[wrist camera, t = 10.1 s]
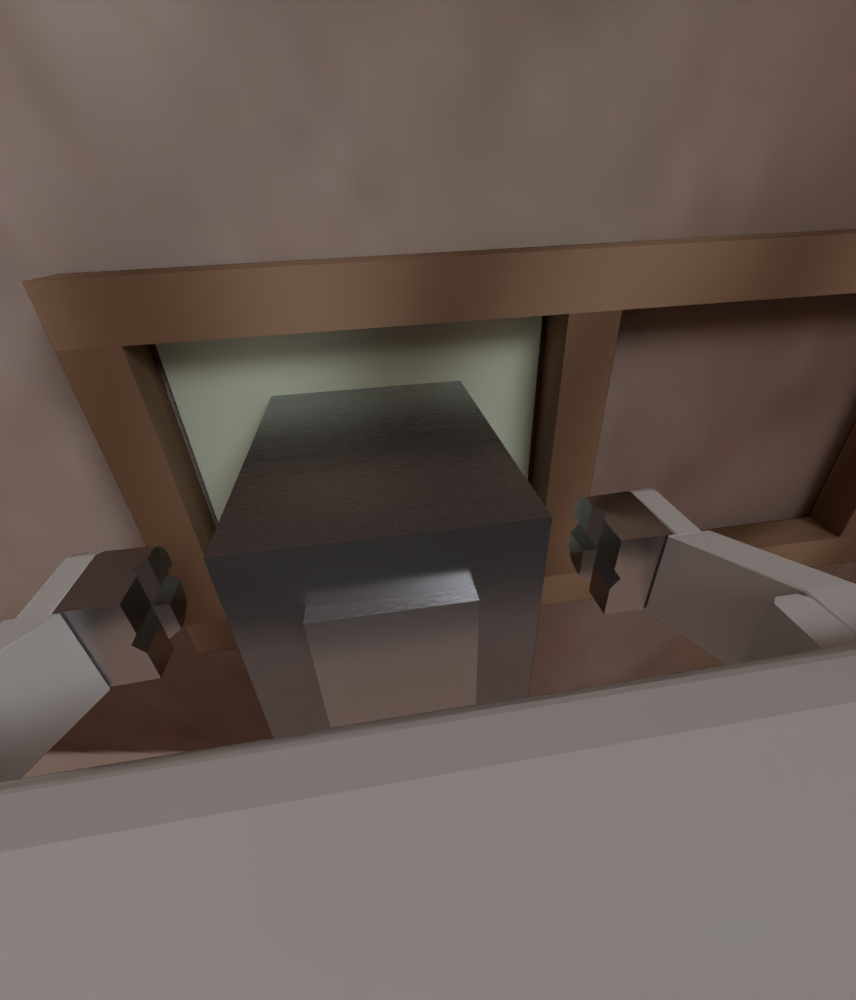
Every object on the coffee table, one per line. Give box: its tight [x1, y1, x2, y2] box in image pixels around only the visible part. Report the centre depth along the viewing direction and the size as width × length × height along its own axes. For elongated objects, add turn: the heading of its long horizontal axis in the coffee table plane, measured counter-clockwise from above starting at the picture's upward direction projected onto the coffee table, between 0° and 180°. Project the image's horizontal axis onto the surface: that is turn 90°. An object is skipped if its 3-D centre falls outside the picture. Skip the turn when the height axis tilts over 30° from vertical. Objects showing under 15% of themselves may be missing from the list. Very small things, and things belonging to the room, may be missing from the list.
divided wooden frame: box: [22, 229, 856, 654], centre depth 13 cm, size 32×10×1 cm, turn 92°
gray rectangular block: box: [203, 380, 552, 738], centre depth 9 cm, size 4×4×6 cm
